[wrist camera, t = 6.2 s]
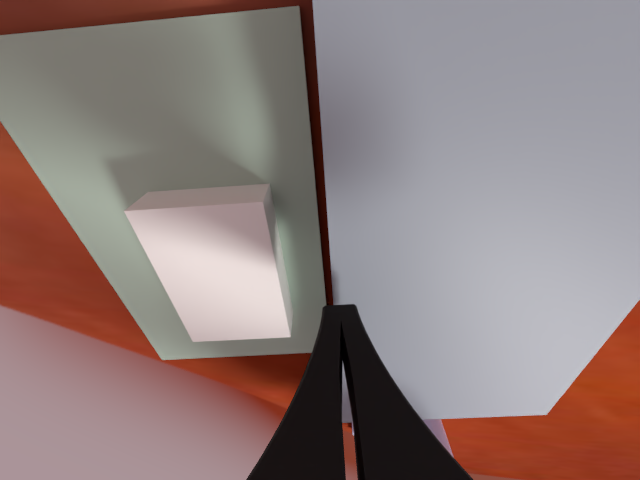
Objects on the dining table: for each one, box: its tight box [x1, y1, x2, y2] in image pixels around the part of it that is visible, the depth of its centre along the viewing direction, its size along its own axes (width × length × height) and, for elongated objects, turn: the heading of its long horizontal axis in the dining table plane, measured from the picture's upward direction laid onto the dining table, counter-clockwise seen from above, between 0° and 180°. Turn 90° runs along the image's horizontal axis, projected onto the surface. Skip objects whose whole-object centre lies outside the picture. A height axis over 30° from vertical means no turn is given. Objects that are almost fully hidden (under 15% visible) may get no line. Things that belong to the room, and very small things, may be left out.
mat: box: [0, 6, 327, 360], centre depth 16 cm, size 20×13×1 cm, turn 4°
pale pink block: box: [124, 184, 293, 342], centre depth 15 cm, size 9×6×2 cm, turn 4°
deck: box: [312, 0, 640, 423], centre depth 14 cm, size 24×14×4 cm, turn 4°
